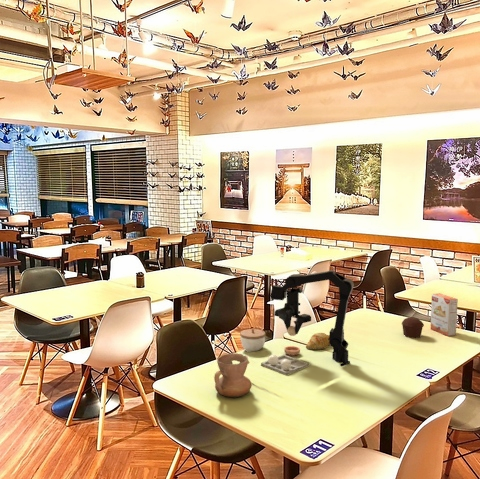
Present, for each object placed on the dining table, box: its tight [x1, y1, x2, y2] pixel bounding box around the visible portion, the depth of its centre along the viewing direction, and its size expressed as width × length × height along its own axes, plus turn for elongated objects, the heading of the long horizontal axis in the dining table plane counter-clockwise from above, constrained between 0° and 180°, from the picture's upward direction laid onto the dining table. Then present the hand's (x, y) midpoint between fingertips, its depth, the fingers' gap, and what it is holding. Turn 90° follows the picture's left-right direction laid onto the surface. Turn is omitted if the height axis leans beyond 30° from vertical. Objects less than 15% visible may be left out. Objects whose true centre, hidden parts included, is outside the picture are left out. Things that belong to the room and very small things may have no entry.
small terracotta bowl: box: [283, 345, 301, 357], centre depth 221 cm, size 7×7×4 cm
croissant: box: [305, 332, 330, 350], centre depth 236 cm, size 21×10×8 cm, turn 135°
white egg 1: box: [267, 354, 279, 366], centre depth 207 cm, size 5×5×5 cm
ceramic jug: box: [213, 352, 252, 398], centre depth 181 cm, size 18×14×14 cm
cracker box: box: [430, 293, 459, 337], centre depth 256 cm, size 14×6×21 cm, turn 17°
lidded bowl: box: [240, 328, 266, 353], centre depth 229 cm, size 13×13×11 cm
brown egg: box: [286, 325, 297, 337], centre depth 220 cm, size 5×5×5 cm
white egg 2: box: [281, 359, 291, 370], centre depth 201 cm, size 5×5×5 cm
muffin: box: [401, 316, 425, 339], centre depth 251 cm, size 12×11×10 cm
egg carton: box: [260, 354, 310, 376], centre depth 207 cm, size 16×16×2 cm
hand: (292, 332), depth 220 cm, fingers closed on brown egg, 5 cm apart
